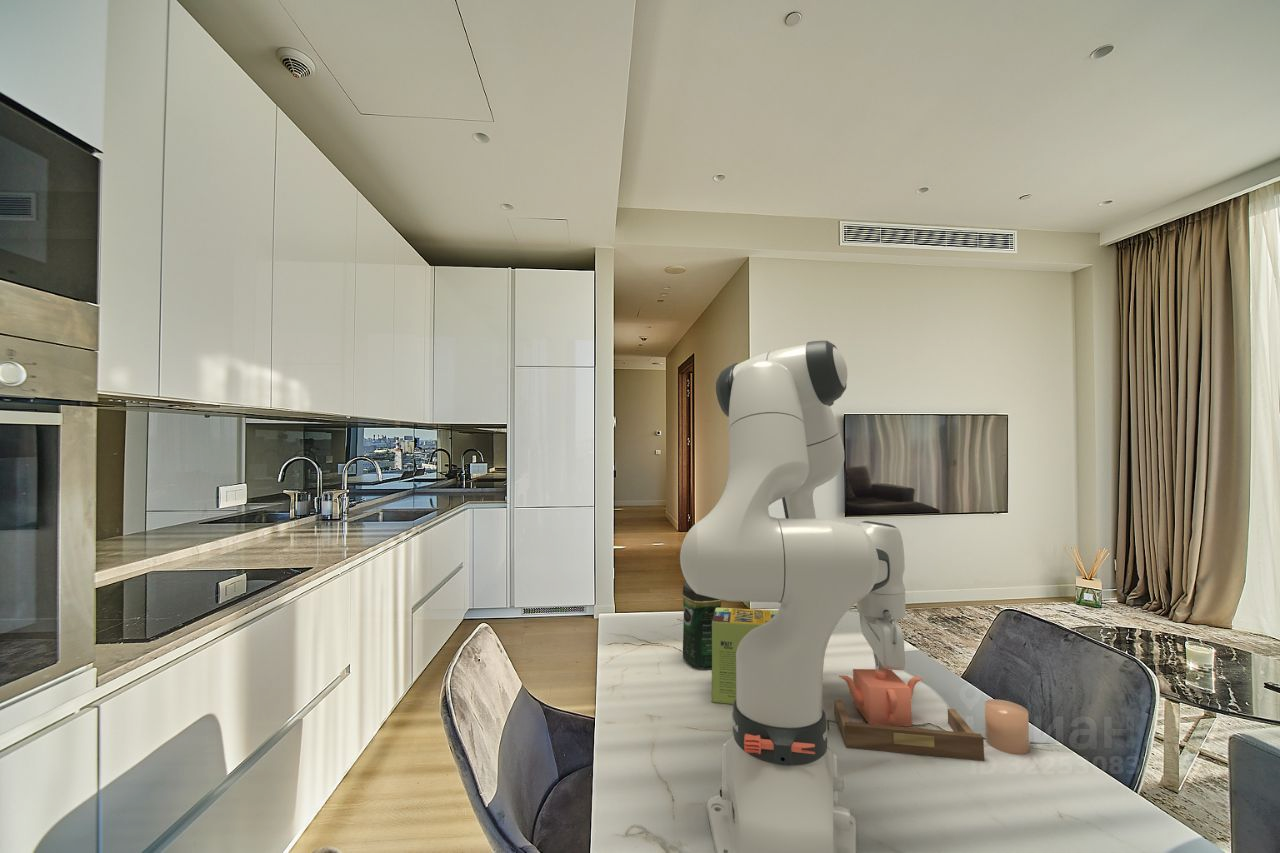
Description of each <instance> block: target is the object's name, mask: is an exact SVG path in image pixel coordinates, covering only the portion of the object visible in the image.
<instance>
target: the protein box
mask: <svg viewBox="0 0 1280 853" xmlns="http://www.w3.org/2000/svg"><path fill="white" fill-rule="evenodd" d="M777 612H778V610H771V609H769V610H768V609H755V608H734V607H721V608H715V612H714V616H713V619H712V668H711V702H712V703H718V704H719V703H720V704H728V705H730V704H731V705H733V704H734V701H735V700H736V651H737V647H738V645H739V643H740V641H741V640H742V638H743V637H744V636H745V635H746V634H747V633H748V632H750V631H751V630H753V629H754V628H756V627H758V626H760V625H763V624H765V623H766V622H768V621H769V620H771V619H772V618H773V617H774V616H775V615H776V613H777Z"/></svg>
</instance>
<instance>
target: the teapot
mask: <svg viewBox="0 0 1280 853" xmlns="http://www.w3.org/2000/svg"><path fill="white" fill-rule="evenodd" d="M838 677H839V678H841V679H843V680H844V681H845V682H846V684H847V686H848V689H849V693H850V695H851V697H852V699H853V704H854V706H855V707H856V709H857V710H858V711H859V714H860V715H861V716H862V717H863V718H864V719H865V721H866V723H867V724H876V725H887V726H898V727H910V728H913V726H912V725H913V722H912V720H913V719H912V698H913V695H914V691H915V687H916V684H917V683H919V682H920V681H923V679H924V678H923V677H918V676H914V677H911V678H910V679H909V680H908V682H907V683H905V681H904V680H903V679H902V678H900V677H899V676H898V674H896V673H895V672H894V670H890V669H889V670H878V669H875V668H874V669H873V668H871V669H870V668H853V669H852V678H851V677H850V676H848V675H838Z"/></svg>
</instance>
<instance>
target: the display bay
mask: <svg viewBox="0 0 1280 853" xmlns="http://www.w3.org/2000/svg"><path fill="white" fill-rule="evenodd" d="M833 700H834V701H833V702H834V703H833V704H834V706H833V707H834V712H833V713H834V716H835V719H836V722H837V725H838V728H839V730H840V733H841V735H842V739H843V741H844V744H845V747H846V748H850V749H862V750H870V751H880V752H881V751H882V752H890V753H901V754H911V755H922V756H931V757H932V756H933V757H941V758H952V759H953V758H954V759H962V760H975V761H983V762H984V761H985V746H984V745H985V744H984V743H985V742H984V741H985V740H984V737H983V735H982V734H981V733H976V732H974V731H973V730H972V728H971V727H970V726H969V725H968V723H967V722H966V721H965V719H964V718H963V717H962V716H961V715H960V714H959V713H958V711H957V710H956V709H953V708H947V724H948V725H949V727H950V728H951V729H952V730H944V729H943V730H939V729H930V728H920V727H910V726H887V725H876V724H869V723H864V722H863V723H862V722H852V721H850V719H849V717H848V715H847V711H846V710H845V706H844V704H843V701H842V700H841V699H833Z"/></svg>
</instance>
